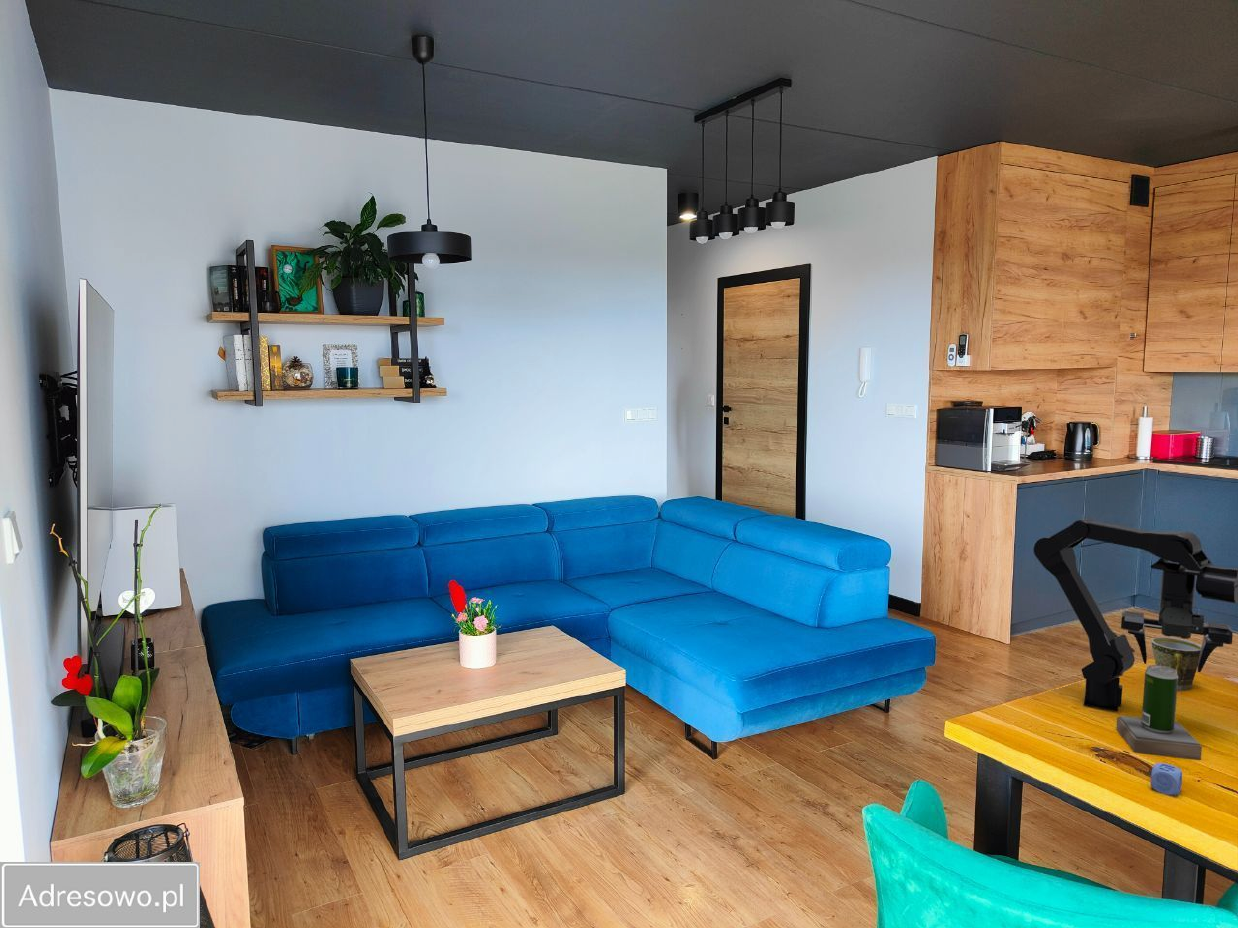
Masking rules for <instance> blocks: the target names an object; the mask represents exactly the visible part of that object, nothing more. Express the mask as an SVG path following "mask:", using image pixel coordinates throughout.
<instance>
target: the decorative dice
mask: <svg viewBox="0 0 1238 928" xmlns="http://www.w3.org/2000/svg"><path fill="white" fill-rule="evenodd" d="M1151 769H1152V770H1151V774H1150V787H1151V788H1152V789H1153V790H1154V791H1155V792H1158V793H1159V794H1163V795H1165V796H1166V795H1168V796H1178V795H1180V794H1181V790H1182V784H1183V772H1182V770H1181V769H1180V768H1178V767H1177V766H1175V765H1173V764H1169V763H1165V762H1156V763H1154V764H1153V766H1152V768H1151Z"/></svg>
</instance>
